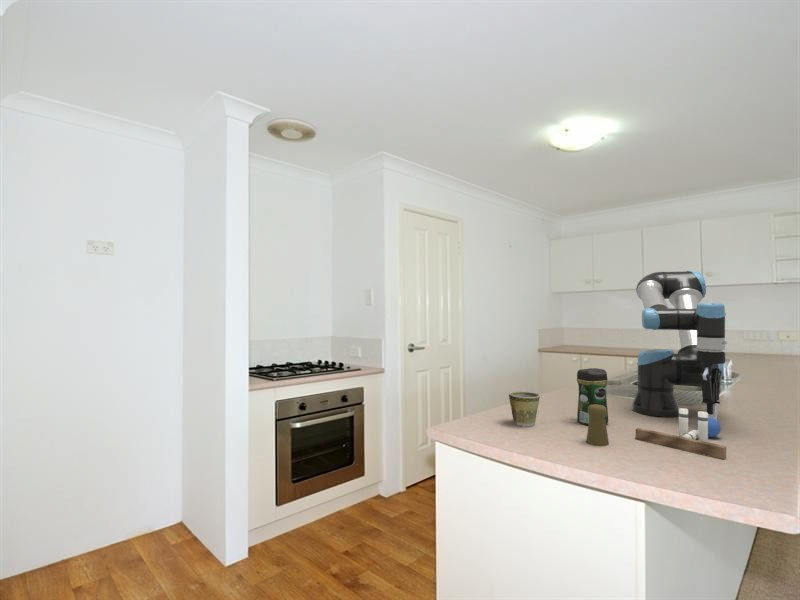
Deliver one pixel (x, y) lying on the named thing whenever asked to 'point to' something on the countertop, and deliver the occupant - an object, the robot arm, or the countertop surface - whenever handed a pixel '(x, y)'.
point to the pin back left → (683, 421)
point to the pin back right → (702, 426)
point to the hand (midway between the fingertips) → (711, 423)
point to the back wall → (681, 443)
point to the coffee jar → (591, 392)
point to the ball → (713, 427)
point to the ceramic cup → (524, 407)
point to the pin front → (691, 434)
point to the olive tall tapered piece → (597, 426)
